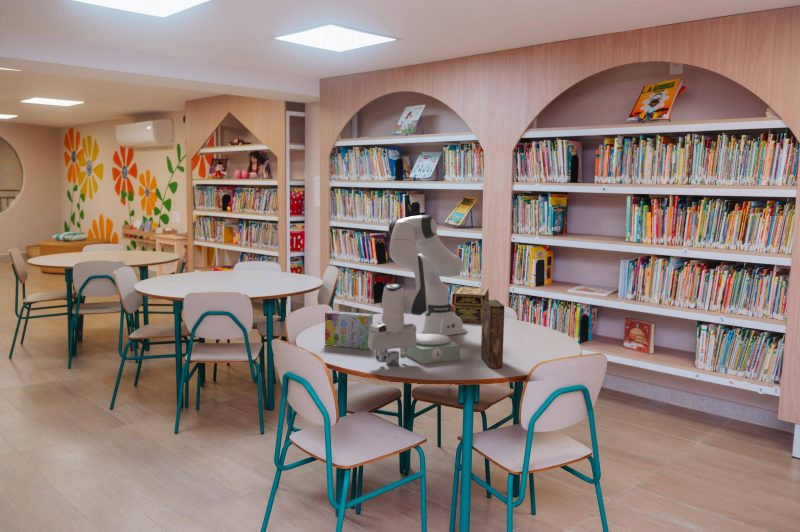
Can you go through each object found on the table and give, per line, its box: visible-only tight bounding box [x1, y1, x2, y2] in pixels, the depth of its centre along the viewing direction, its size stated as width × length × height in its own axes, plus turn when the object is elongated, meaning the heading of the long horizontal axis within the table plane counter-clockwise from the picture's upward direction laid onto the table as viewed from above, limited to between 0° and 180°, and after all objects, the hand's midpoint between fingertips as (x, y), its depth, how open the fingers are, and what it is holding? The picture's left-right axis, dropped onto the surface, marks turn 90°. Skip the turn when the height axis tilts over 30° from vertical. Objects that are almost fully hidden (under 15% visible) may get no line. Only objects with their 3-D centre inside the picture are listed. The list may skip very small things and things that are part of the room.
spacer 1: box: [375, 349, 389, 360], centre depth 267 cm, size 5×5×5 cm
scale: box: [399, 333, 461, 364], centre depth 270 cm, size 18×21×8 cm
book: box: [480, 299, 505, 370], centre depth 259 cm, size 16×6×25 cm, turn 5°
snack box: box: [324, 310, 374, 350], centre depth 284 cm, size 21×6×15 cm, turn 71°
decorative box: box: [451, 286, 490, 324], centre depth 352 cm, size 28×19×15 cm
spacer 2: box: [385, 350, 400, 367], centre depth 257 cm, size 5×5×5 cm
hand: (392, 359), depth 257 cm, fingers open, 8 cm apart
